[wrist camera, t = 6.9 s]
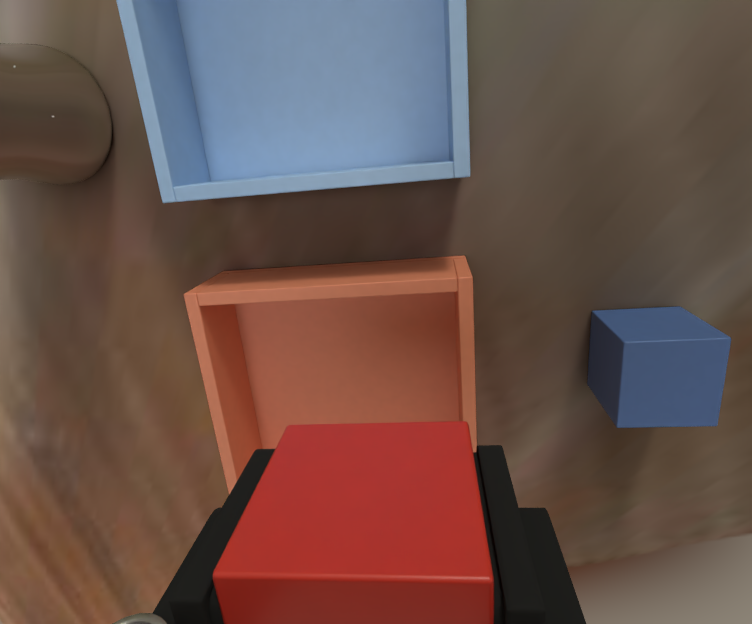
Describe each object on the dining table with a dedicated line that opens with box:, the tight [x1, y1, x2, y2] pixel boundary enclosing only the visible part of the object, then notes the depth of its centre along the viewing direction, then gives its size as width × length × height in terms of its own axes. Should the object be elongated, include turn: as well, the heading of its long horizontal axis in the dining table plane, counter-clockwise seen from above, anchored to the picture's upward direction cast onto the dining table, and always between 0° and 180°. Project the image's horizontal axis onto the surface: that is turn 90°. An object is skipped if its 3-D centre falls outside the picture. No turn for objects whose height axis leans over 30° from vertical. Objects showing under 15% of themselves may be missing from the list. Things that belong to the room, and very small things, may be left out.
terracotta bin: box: [184, 255, 477, 494], centre depth 23 cm, size 12×12×4 cm
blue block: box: [587, 306, 731, 428], centre depth 21 cm, size 4×4×4 cm
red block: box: [213, 421, 494, 624], centre depth 9 cm, size 4×4×4 cm
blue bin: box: [116, 0, 470, 203], centre depth 18 cm, size 12×12×4 cm
